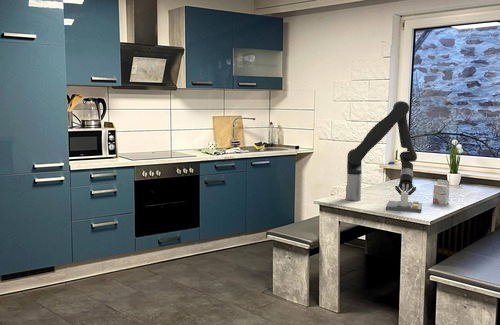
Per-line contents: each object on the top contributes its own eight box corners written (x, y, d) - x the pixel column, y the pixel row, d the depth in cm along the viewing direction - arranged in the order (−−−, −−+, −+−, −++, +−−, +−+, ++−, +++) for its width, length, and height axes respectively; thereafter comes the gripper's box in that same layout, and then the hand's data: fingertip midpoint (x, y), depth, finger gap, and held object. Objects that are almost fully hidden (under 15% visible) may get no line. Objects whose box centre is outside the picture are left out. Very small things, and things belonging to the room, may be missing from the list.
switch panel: (386, 209, 303) (386, 204, 302) (388, 203, 320) (388, 198, 319) (421, 212, 296) (421, 206, 296) (421, 206, 313) (422, 200, 312)
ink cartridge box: (432, 202, 324) (433, 180, 322) (435, 201, 328) (437, 179, 326) (445, 204, 318) (446, 181, 316) (448, 203, 322) (450, 180, 320)
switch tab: (400, 206, 302) (400, 193, 301) (400, 205, 306) (401, 192, 305) (407, 206, 301) (407, 193, 300) (407, 205, 304) (408, 192, 303)
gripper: (395, 172, 314) (393, 195, 305) (417, 174, 310) (415, 197, 300) (395, 179, 320) (393, 202, 310) (417, 181, 315) (415, 204, 306)
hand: (404, 200), depth 305 cm, fingers closed
